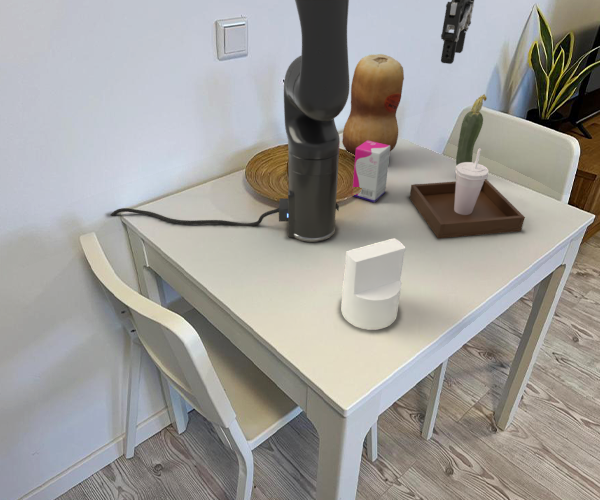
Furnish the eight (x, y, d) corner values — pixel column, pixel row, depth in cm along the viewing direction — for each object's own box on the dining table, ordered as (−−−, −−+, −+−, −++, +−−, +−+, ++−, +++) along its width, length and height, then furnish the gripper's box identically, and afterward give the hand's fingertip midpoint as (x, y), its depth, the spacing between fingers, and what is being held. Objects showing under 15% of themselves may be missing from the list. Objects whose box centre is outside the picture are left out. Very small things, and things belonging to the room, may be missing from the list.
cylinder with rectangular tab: (359, 336, 78) (365, 274, 71) (331, 301, 84) (334, 241, 78) (408, 319, 81) (418, 258, 74) (377, 287, 88) (384, 228, 81)
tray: (437, 238, 100) (440, 224, 98) (409, 197, 114) (411, 184, 112) (520, 231, 103) (525, 217, 101) (483, 192, 116) (486, 179, 114)
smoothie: (479, 220, 105) (495, 156, 97) (447, 216, 106) (460, 153, 98) (477, 204, 110) (492, 143, 102) (447, 201, 111) (459, 140, 103)
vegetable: (450, 179, 121) (466, 95, 110) (452, 171, 124) (469, 89, 113) (469, 182, 120) (488, 98, 108) (471, 175, 123) (490, 92, 112)
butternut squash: (369, 175, 122) (379, 68, 108) (330, 157, 131) (335, 55, 116) (406, 159, 130) (421, 57, 116) (368, 143, 138) (376, 46, 124)
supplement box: (386, 192, 115) (391, 144, 109) (374, 203, 111) (379, 154, 105) (363, 185, 118) (367, 138, 111) (351, 196, 114) (354, 148, 107)
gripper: (455, -46, 94) (440, 47, 103) (437, -38, 83) (422, 64, 93) (497, -44, 91) (478, 51, 101) (484, -36, 81) (464, 69, 90)
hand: (451, 57), depth 97 cm, fingers open, 8 cm apart
